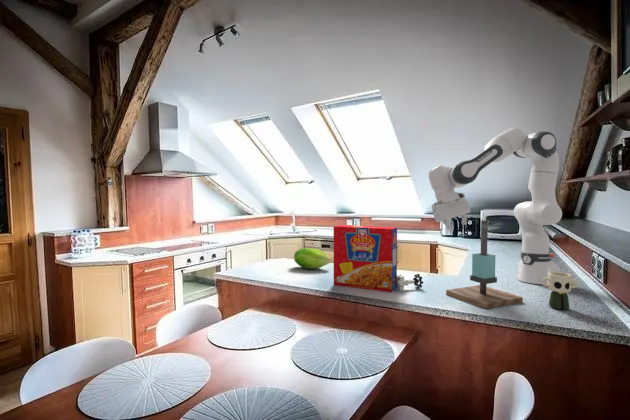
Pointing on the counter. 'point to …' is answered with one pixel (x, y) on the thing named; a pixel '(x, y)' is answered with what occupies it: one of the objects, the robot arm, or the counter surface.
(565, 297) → the character mug
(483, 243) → the pipe stand
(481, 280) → the rubber ring
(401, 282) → the valve
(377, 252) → the pasta box
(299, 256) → the green papaya
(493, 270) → the sleeve
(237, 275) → the counter surface
